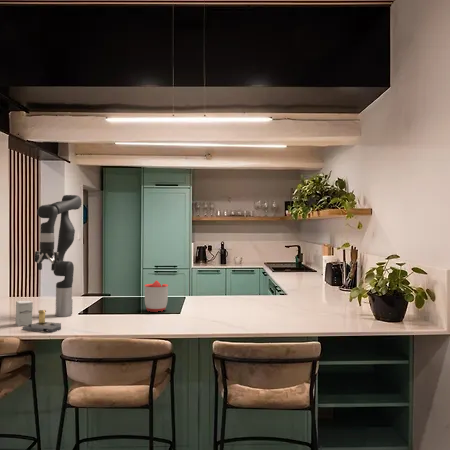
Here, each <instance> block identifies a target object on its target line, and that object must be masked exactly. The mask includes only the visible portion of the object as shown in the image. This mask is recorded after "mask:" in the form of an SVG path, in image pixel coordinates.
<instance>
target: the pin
mask: <svg viewBox="0 0 450 450" xmlns="http://www.w3.org/2000/svg"><path fill="white" fill-rule="evenodd" d="M46 312H47V311H46V309H40V310H38V322H39V324H40V325H43V324H45V322H46Z"/></svg>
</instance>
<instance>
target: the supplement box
mask: <svg viewBox="0 0 450 450" xmlns="http://www.w3.org/2000/svg"><path fill="white" fill-rule="evenodd" d="M33 308H34V302H33V301H32V300H19V301H16V302H15V325H16V326H17V327H23V326H27V325H29V324H33V310H34V309H33Z"/></svg>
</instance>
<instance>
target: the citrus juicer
mask: <svg viewBox="0 0 450 450" xmlns="http://www.w3.org/2000/svg"><path fill="white" fill-rule="evenodd" d="M168 295H169V284H167V283H163V284H161V283H160V282H159V281H158V280H155V281H154V282H153V283H148V284H144V304H145V308H146V311H147V312H149V311H150V313H159V312H158V311H161V312H164V311H163V310H166V308H167V305H168V299H169V298H168V297H169V296H168Z"/></svg>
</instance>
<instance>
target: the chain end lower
mask: <svg viewBox="0 0 450 450" xmlns="http://www.w3.org/2000/svg"><path fill="white" fill-rule="evenodd" d="M21 330H23V331H30V330H32V331H31V332H41V331H44V332H47V331H46V330H47V329H42V328H31V324H29V325H23V326H22V329H21Z"/></svg>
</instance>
